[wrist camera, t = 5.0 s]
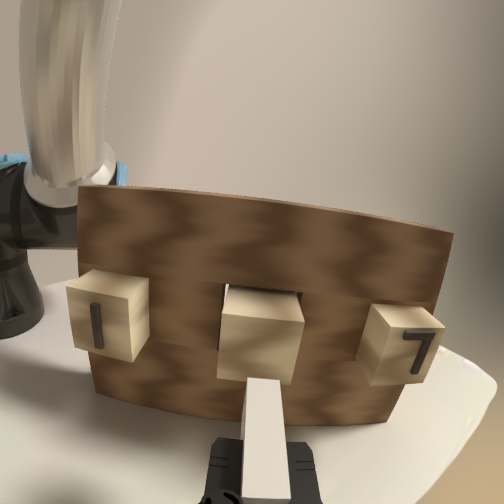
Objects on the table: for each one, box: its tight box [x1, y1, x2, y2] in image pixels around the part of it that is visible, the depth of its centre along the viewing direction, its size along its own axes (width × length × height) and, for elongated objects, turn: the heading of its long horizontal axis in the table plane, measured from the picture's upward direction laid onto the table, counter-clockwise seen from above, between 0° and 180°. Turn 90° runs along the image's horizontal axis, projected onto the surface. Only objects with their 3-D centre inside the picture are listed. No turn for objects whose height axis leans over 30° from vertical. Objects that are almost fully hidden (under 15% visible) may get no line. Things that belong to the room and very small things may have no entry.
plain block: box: [217, 284, 305, 385], centre depth 22 cm, size 5×9×5 cm, turn 179°
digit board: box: [66, 184, 454, 426], centre depth 24 cm, size 30×12×20 cm, turn 89°
